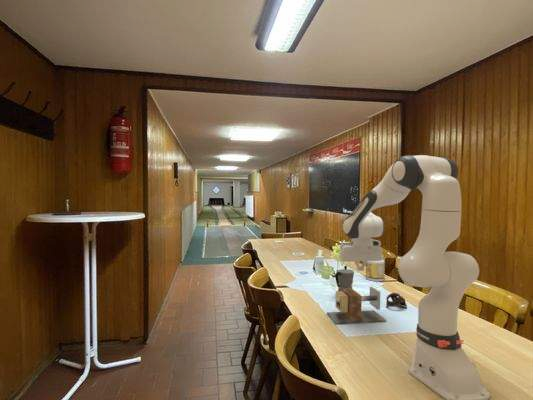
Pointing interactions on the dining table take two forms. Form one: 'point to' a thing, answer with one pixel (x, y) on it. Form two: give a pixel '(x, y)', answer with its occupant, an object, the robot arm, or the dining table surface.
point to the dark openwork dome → (395, 300)
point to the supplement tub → (375, 270)
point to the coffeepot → (344, 278)
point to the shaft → (370, 298)
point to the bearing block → (354, 311)
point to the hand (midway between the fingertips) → (360, 270)
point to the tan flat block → (342, 302)
